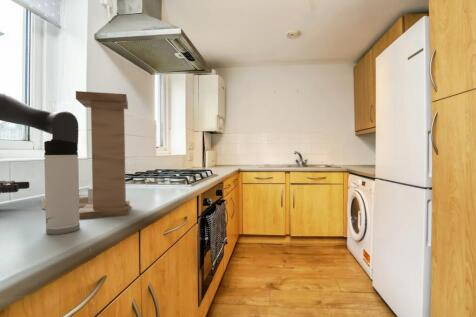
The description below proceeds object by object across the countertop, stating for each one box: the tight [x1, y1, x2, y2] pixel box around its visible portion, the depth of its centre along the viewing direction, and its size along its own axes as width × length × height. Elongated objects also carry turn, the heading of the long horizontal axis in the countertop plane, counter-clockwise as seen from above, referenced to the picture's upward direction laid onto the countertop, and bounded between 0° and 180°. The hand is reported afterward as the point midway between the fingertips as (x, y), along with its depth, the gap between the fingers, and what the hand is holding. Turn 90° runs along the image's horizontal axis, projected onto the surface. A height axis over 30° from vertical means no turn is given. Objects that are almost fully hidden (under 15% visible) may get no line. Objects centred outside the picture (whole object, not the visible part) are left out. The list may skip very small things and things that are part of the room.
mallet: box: [40, 185, 93, 210], centre depth 88 cm, size 7×19×6 cm, turn 110°
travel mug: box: [43, 138, 81, 236], centre depth 60 cm, size 6×7×20 cm
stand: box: [75, 90, 131, 220], centre depth 79 cm, size 14×12×33 cm
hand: (23, 186), depth 83 cm, fingers open, 8 cm apart
